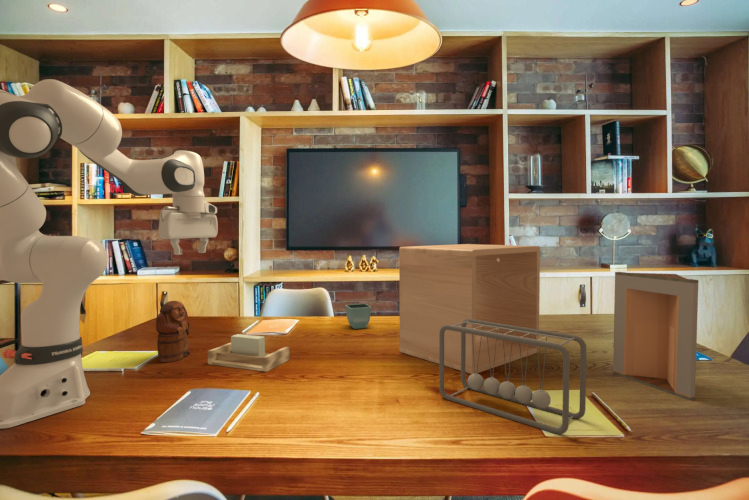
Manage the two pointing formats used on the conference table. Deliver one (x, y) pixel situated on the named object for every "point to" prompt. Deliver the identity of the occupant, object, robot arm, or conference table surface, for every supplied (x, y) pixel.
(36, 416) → the robot arm
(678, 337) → the cabinet
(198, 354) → the conference table surface
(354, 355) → the conference table surface
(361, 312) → the flower pot
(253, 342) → the cream rectangular block
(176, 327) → the wooden figurine
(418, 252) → the storage cube
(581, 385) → the newton's cradle
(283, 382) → the conference table surface
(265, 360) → the track frame
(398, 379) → the conference table surface
